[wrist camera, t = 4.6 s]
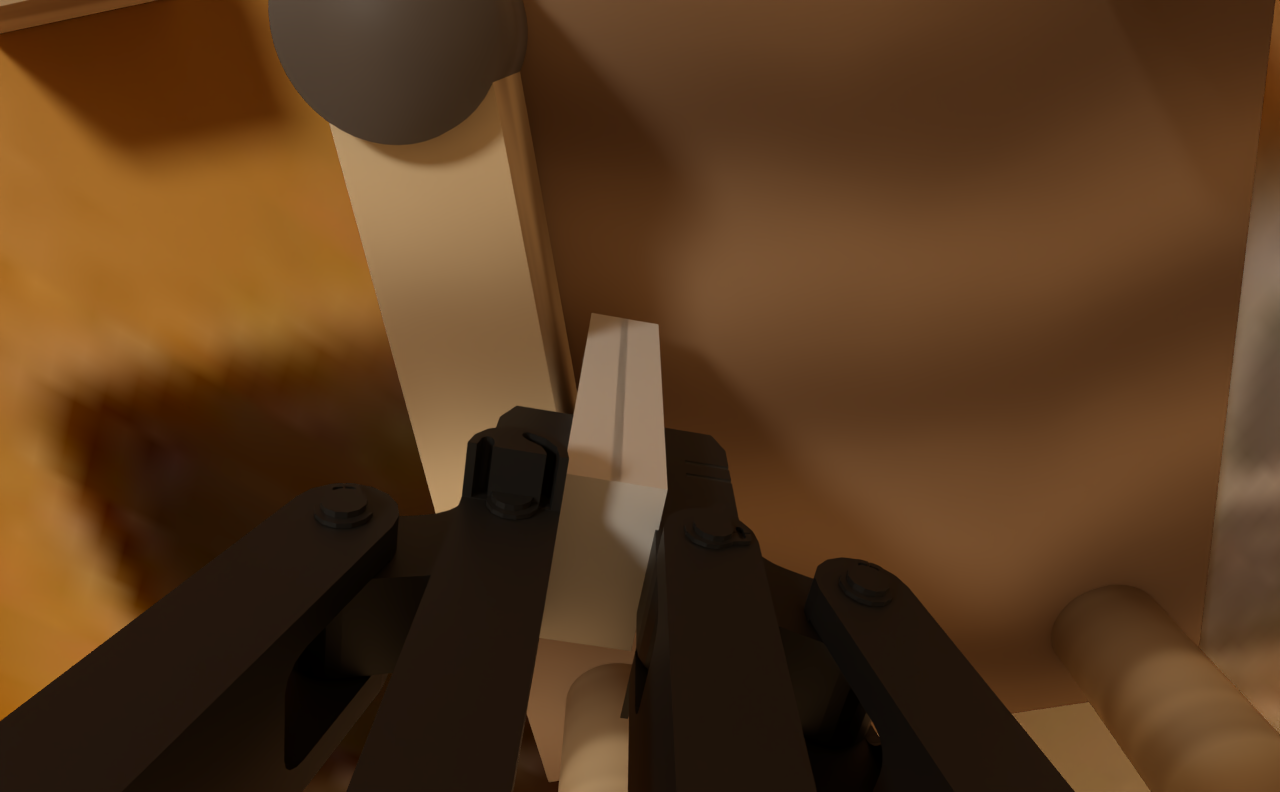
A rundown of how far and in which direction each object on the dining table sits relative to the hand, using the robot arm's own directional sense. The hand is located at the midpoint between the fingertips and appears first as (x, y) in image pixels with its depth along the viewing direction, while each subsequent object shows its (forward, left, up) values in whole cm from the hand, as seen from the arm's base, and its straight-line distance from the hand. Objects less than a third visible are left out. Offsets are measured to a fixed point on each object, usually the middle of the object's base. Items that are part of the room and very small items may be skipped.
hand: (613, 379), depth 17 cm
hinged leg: (-3, -2, -1) cm, 4 cm away
